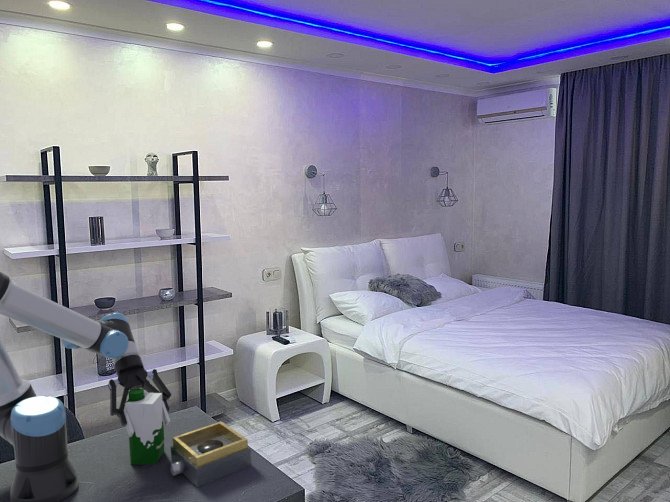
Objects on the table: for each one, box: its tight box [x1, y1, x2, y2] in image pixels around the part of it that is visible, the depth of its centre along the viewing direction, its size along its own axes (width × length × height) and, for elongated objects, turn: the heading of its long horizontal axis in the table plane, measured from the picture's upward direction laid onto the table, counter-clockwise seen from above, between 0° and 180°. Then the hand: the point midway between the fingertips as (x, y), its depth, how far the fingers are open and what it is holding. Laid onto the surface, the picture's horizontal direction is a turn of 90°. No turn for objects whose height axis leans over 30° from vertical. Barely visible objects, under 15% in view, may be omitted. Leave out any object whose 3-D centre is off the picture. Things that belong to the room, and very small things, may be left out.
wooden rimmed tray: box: [169, 421, 252, 488], centre depth 143 cm, size 19×16×8 cm
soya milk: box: [124, 388, 165, 465], centre depth 147 cm, size 9×9×20 cm
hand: (150, 428), depth 145 cm, fingers closed on soya milk, 9 cm apart
